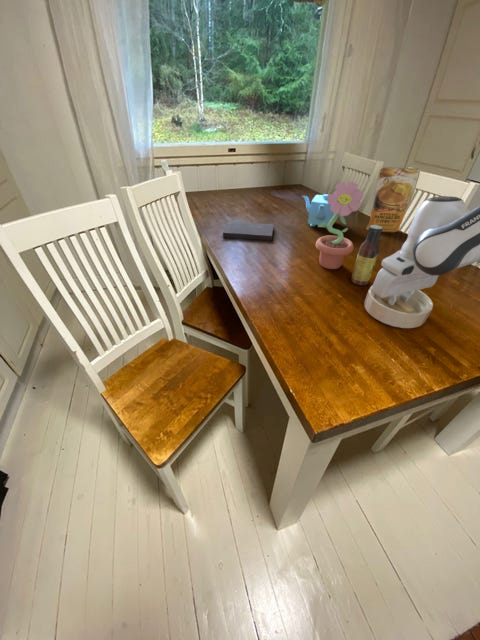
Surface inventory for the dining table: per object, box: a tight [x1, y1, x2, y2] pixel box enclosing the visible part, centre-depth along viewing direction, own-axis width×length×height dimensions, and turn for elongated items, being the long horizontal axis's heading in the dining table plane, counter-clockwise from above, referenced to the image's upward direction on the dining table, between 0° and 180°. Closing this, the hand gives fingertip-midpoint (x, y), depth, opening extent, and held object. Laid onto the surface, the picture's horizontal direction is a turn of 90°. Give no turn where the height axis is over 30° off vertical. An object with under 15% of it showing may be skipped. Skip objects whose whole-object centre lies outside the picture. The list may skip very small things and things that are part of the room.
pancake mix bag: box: [365, 167, 421, 233], centre depth 130 cm, size 7×19×28 cm, turn 85°
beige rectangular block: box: [381, 296, 414, 313], centre depth 82 cm, size 10×2×2 cm, turn 19°
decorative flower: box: [315, 181, 363, 270], centre depth 99 cm, size 15×14×30 cm
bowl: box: [363, 284, 434, 329], centre depth 83 cm, size 17×17×6 cm
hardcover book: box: [222, 221, 275, 241], centre depth 133 cm, size 16×23×2 cm
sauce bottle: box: [351, 225, 383, 286], centre depth 92 cm, size 7×6×20 cm
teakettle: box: [301, 193, 334, 229], centre depth 140 cm, size 19×19×15 cm
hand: (396, 302), depth 82 cm, fingers closed on beige rectangular block, 2 cm apart
